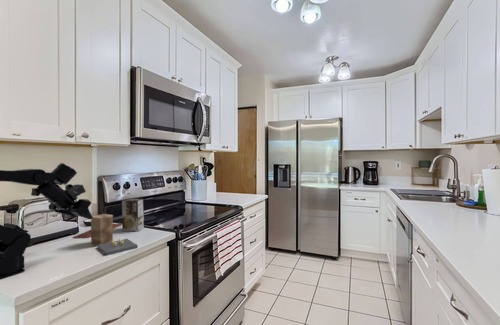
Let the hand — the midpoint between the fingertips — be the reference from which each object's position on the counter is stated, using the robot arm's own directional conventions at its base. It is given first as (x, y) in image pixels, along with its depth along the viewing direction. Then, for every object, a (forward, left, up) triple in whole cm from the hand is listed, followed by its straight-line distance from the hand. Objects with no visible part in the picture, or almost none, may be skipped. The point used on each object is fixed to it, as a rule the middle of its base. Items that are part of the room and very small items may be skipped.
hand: (84, 217), depth 106 cm
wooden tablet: (+19, +21, -14) cm, 31 cm away
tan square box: (+8, +1, -13) cm, 16 cm away
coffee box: (+29, +7, -14) cm, 33 cm away
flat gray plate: (+7, -11, -13) cm, 19 cm away
